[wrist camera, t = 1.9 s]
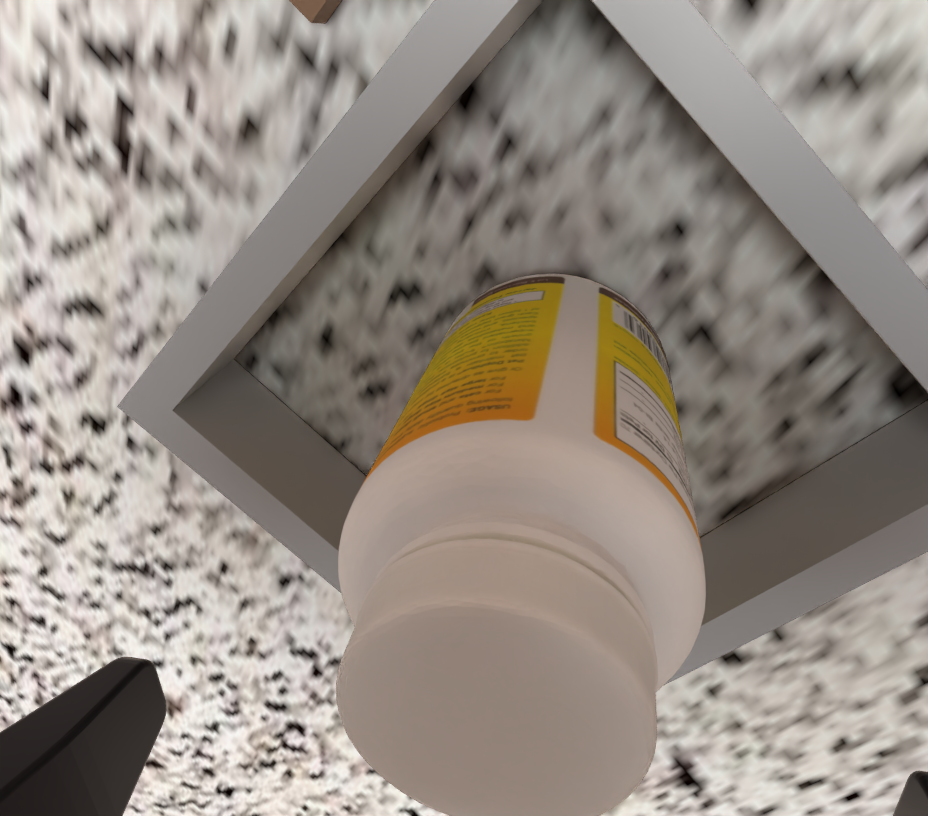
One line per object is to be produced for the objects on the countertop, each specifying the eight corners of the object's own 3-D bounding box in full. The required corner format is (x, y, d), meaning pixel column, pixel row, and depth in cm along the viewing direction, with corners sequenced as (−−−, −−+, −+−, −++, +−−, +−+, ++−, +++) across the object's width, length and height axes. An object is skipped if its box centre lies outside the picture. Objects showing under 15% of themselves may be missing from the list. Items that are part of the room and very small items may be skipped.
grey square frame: (1002, 401, 16) (1079, 474, 13) (541, 666, 22) (532, 751, 19) (569, -119, 13) (558, -159, 10) (185, 356, 19) (117, 406, 17)
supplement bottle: (416, 427, 19) (238, 775, 10) (481, 230, 16) (316, 468, 7) (613, 501, 19) (611, 921, 10) (712, 316, 16) (835, 666, 7)
